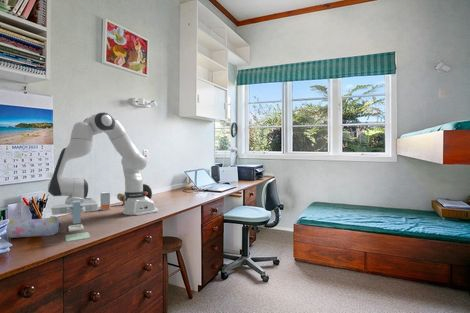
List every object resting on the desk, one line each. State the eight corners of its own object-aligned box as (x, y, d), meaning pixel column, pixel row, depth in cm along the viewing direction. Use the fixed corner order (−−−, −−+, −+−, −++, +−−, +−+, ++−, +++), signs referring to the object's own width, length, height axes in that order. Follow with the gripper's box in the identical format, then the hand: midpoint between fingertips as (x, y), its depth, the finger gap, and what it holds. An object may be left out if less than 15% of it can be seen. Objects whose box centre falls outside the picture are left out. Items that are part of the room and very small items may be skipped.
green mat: (88, 233, 144) (88, 231, 144) (90, 238, 135) (90, 237, 135) (65, 236, 138) (65, 235, 138) (65, 242, 130) (65, 241, 130)
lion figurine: (117, 206, 207) (117, 194, 206) (117, 204, 211) (117, 192, 211) (138, 204, 212) (138, 192, 212) (137, 203, 217) (137, 191, 217)
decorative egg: (146, 201, 224) (146, 182, 223) (155, 203, 215) (154, 184, 215) (132, 203, 215) (131, 184, 214) (140, 206, 206) (139, 185, 206)
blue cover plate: (79, 220, 139) (79, 200, 139) (80, 222, 135) (80, 202, 135) (72, 221, 137) (72, 201, 137) (73, 223, 134) (73, 202, 133)
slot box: (82, 226, 155) (82, 224, 155) (83, 230, 148) (83, 227, 147) (68, 228, 151) (68, 225, 151) (69, 232, 144) (68, 229, 144)
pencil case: (61, 232, 145) (60, 214, 145) (54, 237, 137) (54, 218, 137) (14, 235, 140) (13, 216, 140) (4, 241, 132) (3, 221, 132)
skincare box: (100, 210, 193) (100, 193, 193) (100, 209, 197) (100, 192, 197) (110, 209, 196) (109, 192, 195) (110, 208, 200) (110, 191, 199)
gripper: (51, 201, 141) (50, 206, 130) (96, 198, 152) (99, 202, 141) (51, 214, 142) (50, 220, 130) (96, 209, 152) (99, 215, 141)
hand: (76, 211), depth 135 cm, fingers closed on blue cover plate, 3 cm apart
